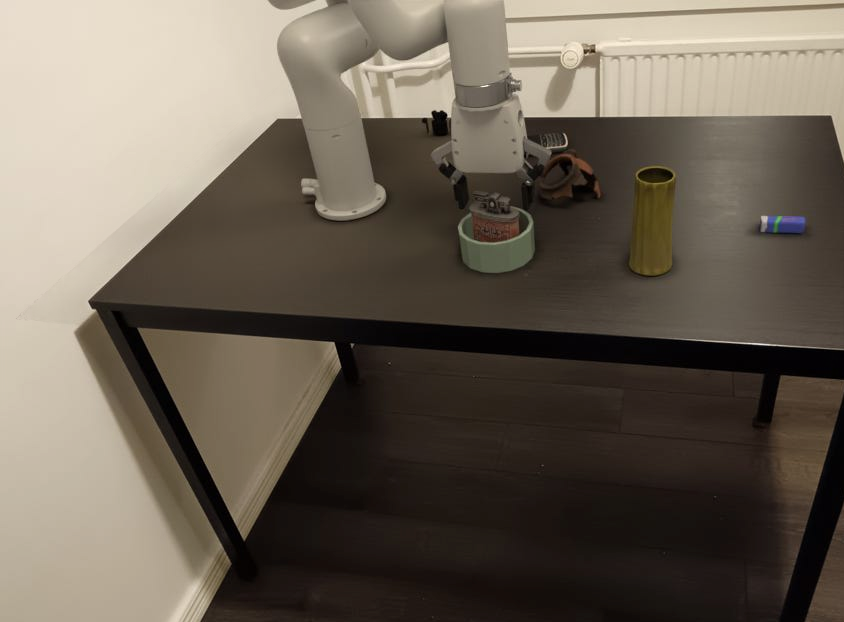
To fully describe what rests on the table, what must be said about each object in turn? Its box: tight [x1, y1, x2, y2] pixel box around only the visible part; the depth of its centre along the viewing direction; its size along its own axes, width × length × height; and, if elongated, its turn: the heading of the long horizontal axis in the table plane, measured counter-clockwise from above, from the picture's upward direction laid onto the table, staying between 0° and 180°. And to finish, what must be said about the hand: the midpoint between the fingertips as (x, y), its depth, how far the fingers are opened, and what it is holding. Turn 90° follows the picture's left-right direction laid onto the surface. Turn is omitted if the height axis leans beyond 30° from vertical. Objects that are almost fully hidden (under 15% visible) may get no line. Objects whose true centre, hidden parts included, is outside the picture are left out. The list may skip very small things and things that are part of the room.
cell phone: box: [527, 132, 569, 156], centre depth 142 cm, size 6×11×1 cm, turn 89°
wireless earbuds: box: [421, 109, 451, 136], centre depth 151 cm, size 7×2×5 cm, turn 75°
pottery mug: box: [537, 148, 601, 201], centre depth 126 cm, size 12×10×8 cm
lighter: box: [468, 190, 519, 243], centre depth 113 cm, size 8×3×10 cm, turn 58°
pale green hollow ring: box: [457, 205, 536, 274], centre depth 115 cm, size 11×11×5 cm
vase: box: [628, 165, 677, 277], centre depth 105 cm, size 6×6×14 cm
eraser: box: [759, 215, 806, 235], centre depth 112 cm, size 2×6×2 cm, turn 74°
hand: (495, 205), depth 111 cm, fingers open, 9 cm apart
